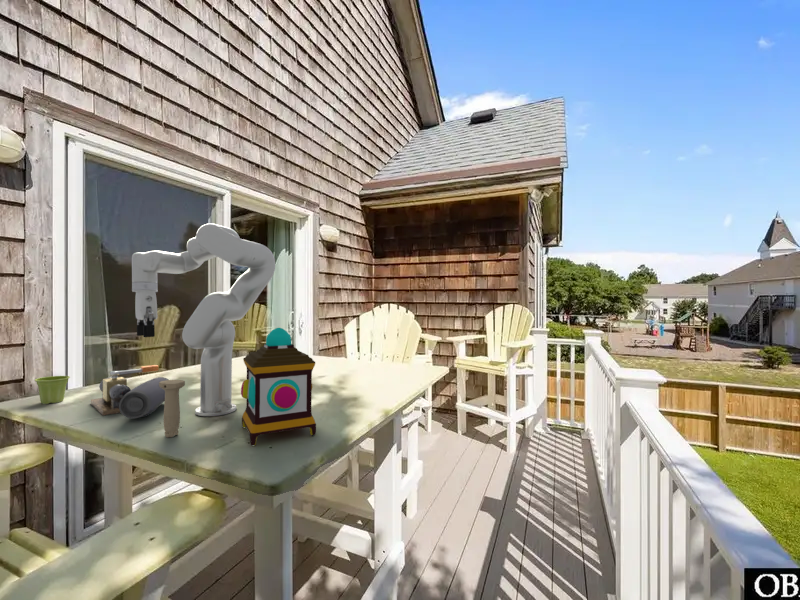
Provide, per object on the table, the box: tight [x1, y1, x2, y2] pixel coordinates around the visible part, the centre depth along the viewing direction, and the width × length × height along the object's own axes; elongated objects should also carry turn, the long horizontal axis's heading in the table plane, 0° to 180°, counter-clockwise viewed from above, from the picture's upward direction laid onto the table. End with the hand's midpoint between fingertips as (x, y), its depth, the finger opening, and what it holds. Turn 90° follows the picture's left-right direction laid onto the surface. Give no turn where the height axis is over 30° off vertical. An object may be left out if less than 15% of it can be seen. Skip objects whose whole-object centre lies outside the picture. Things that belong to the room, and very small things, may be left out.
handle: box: [159, 379, 186, 438], centre depth 106 cm, size 5×6×15 cm
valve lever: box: [109, 364, 159, 377], centre depth 139 cm, size 14×3×2 cm, turn 138°
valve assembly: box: [90, 375, 132, 416], centre depth 135 cm, size 20×12×11 cm, turn 48°
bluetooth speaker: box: [119, 376, 170, 419], centre depth 128 cm, size 23×9×10 cm, turn 14°
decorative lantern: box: [240, 327, 317, 446], centre depth 110 cm, size 20×20×30 cm
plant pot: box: [34, 375, 71, 405], centre depth 139 cm, size 9×9×9 cm
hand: (145, 336), depth 136 cm, fingers open, 9 cm apart
